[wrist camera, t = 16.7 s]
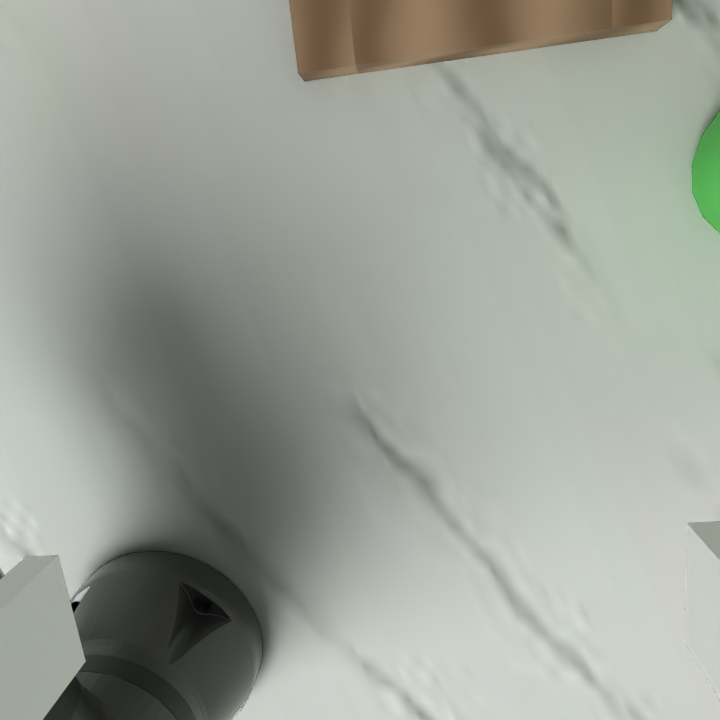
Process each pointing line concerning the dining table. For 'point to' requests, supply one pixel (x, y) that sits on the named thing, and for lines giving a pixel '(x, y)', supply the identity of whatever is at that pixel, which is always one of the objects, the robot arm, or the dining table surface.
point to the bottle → (708, 174)
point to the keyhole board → (451, 29)
